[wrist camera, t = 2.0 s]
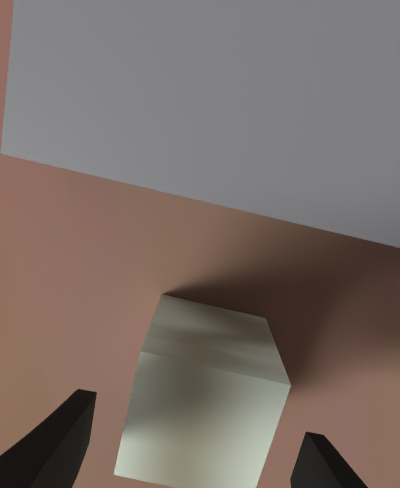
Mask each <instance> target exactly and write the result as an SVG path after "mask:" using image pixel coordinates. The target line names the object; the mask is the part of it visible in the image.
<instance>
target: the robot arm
mask: <svg viewBox="0 0 400 488" xmlns="http://www.w3.org/2000/svg"><path fill="white" fill-rule="evenodd" d="M96 394H97V392H92V391H86V390H81V389H78V390H76V391H75V392H74V393H73V394H72V395H71V396H70V397H69V398H68V399H67V400H66V401H65V402H64V403H63V404H61V405H60V406H59V407H58V408H57V409H56V410H55V411H54V412H53V413H52V414H51V415H49V416H48V417H47V418H46V419H45V420H44V421H43V422H41V423H40V424H39V425H38V426H37V427H36V428H34V429H33V430H32V431H31V432H30V433H29V434H27V435H26V436H25V437H24V438H22V439H21V440H20V441H19V442H17V443H16V444H15V445H13V446H12V447H11V448H10V449H8V450H7V451H6V452H4V453H3V454H2V455H0V488H72V486H73V484H74V482H75V479H76V477H77V475H78V472H79V469H80V467H81V464H82V461H83V459H84V456H85V453H86V450H87V447H88V445H89V441H90V434H91V427H92V421H93V414H94V408H95V401H96ZM290 481H291V488H368V487H367V486H366V485H365V484H364V483H363V481H362V480H361V479H360V478H359V477H358V475H357V474H356V473H355V472H354V471H353V469H352V468H351V467H350V466H349V465H348V463H347V462H346V461H345V460H344V459H343V457H342V456H341V455H340V454H339V452H338V451H337V450H336V449H335V448H334V446H333V445H332V444H331V443H330V442H329V441H328V439H327V438H326V437H325V436H324V435H321V434H316V433H311V432H306V433H305V436H304V439H303V442H302V445H301V448H300V452H299V455H298V458H297V461H296V464H295V467H294V470H293V473H292V476H291V479H290Z"/></svg>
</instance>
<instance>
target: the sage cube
mask: <svg viewBox="0 0 400 488" xmlns="http://www.w3.org/2000/svg"><path fill="white" fill-rule="evenodd" d="M290 387H291V384H290V381H289V378H288V376H287V373H286V370H285V368H284V365H283V363H282V360H281V357H280V355H279V352H278V349H277V347H276V344H275V341H274V339H273V336H272V333H271V331H270V328H269V325H268V323H267V320H266V318H264V317H259V316H255V315H250V314H246V313H242V312H237V311H233V310H229V309H224V308H220V307H216V306H211V305H207V304H203V303H198V302H194V301H190V300H185V299H181V298H176V297H172V296H168V295H163V294H161V297H160V300H159V302H158V305H157V308H156V311H155V313H154V316H153V319H152V322H151V324H150V327H149V330H148V332H147V335H146V338H145V341H144V343H143V346H142V349H141V352H140V356H139V361H138V365H137V370H136V375H135V379H134V384H133V388H132V393H131V398H130V402H129V407H128V411H127V416H126V421H125V425H124V430H123V434H122V439H121V444H120V448H119V453H118V457H117V462H116V467H115V471H114V475H118V476H123V477H128V478H132V479H137V480H142V481H146V482H151V483H156V484H160V485H165V486H170V487H174V488H256V486H257V483H258V480H259V477H260V474H261V471H262V468H263V466H264V463H265V460H266V457H267V454H268V451H269V448H270V445H271V442H272V439H273V437H274V434H275V431H276V428H277V425H278V422H279V419H280V416H281V413H282V410H283V408H284V405H285V402H286V399H287V396H288V393H289V390H290Z"/></svg>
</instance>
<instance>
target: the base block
mask: <svg viewBox="0 0 400 488" xmlns="http://www.w3.org/2000/svg"><path fill="white" fill-rule="evenodd" d="M1 154H5V155H9V156H13V157H17V158H22V159H26V160H30V161H34V162H39V163H43V164H47V165H51V166H55V167H60V168H64V169H68V170H72V171H77V172H81V173H85V174H89V175H94V176H98V177H102V178H106V179H110V180H115V181H119V182H123V183H127V184H132V185H136V186H140V187H144V188H149V189H153V190H157V191H161V192H165V193H170V194H174V195H178V196H182V197H187V198H191V199H195V200H199V201H204V202H208V203H212V204H216V205H220V206H225V207H229V208H233V209H237V210H242V211H246V212H250V213H254V214H259V215H263V216H267V217H271V218H275V219H280V220H284V221H288V222H292V223H297V224H301V225H305V226H309V227H314V228H318V229H322V230H326V231H330V232H335V233H339V234H343V235H347V236H352V237H356V238H360V239H364V240H368V241H373V242H377V243H381V244H385V245H390V246H394V247H398V248H400V0H14V8H13V19H12V30H11V42H10V53H9V64H8V76H7V87H6V98H5V110H4V121H3V132H2V144H1Z"/></svg>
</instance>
